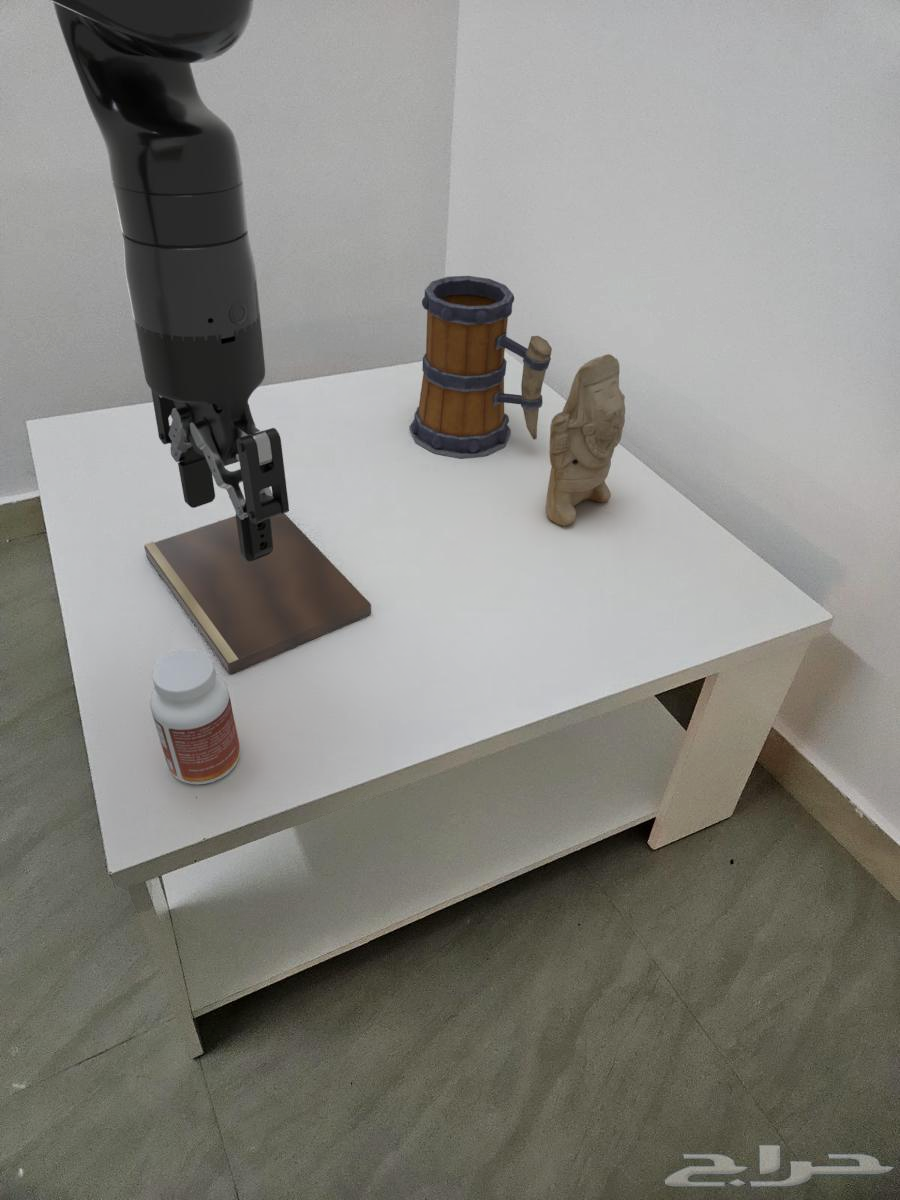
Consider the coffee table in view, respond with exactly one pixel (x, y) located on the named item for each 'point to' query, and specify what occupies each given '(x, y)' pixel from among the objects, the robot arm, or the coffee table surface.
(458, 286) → the mug
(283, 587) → the board
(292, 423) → the coffee table surface
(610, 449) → the figurine
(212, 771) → the pill bottle
